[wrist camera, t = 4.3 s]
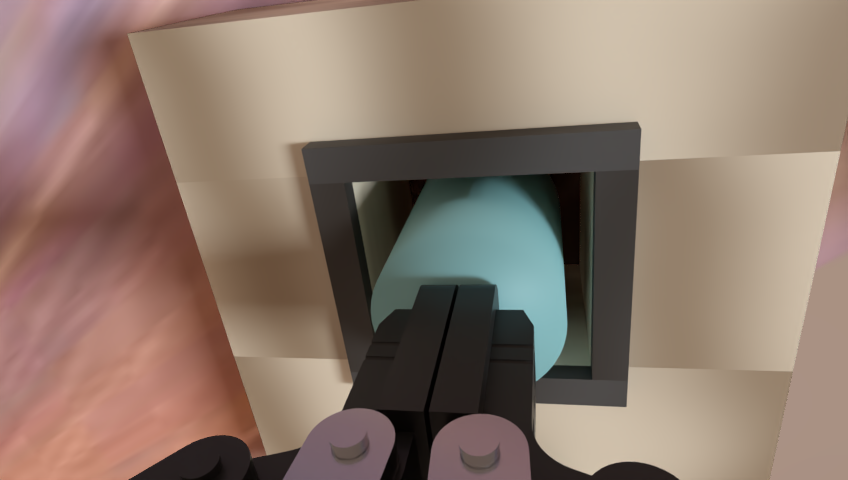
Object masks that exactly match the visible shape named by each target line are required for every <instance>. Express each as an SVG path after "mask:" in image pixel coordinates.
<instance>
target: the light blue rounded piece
mask: <svg viewBox="0 0 848 480" xmlns="http://www.w3.org/2000/svg"><path fill="white" fill-rule="evenodd" d="M477 284H496V285H497V288H498V298H499V310H524V312H525V313H526V315H527V316H528V318H529V319H530V321H531V322H532V324H533V325H534V342H535V370H536V381H537V380H539V379H540V378H541V377H542V376H543V375H545V374H546V373H547V372H548V371H549V370H550V368H551V367H552V366H553V365H554V364H555V362H556V360H557V359H558V357H559V356H560V354H561V351H562V349H563V347H564V343H565V339H566V335H567V309H566V292H565V276H564V259H563V243H562V226H561V210H560V199H559V195H558V191H557V189H556V186H555V184H554V182H553V180H552V179H551V177H550V175H549V174H531V175H509V176H486V177H464V178H441V179H427V181H426V183H425V185H424V187H423V189H422V191H421V193H420V195H419V197H418V199H417V201H416V203H415V205H414V207H413V209H412V211H411V213H410V215H409V217H408V219H407V221H406V223H405V225H404V227H403V229H402V231H401V233H400V235H399V237H398V239H397V241H396V243H395V245H394V247H393V249H392V251H391V253H390V255H389V257H388V259H387V261H386V263H385V265H384V267H383V270H382V272H381V274H380V276H379V278H378V280H377V282H376V285H375V287H374V290H373V294H372V299H371V318H372V324H373V328H374V331H375V332H376V330H377V328H378V325H379V324H380V323H381V322H382V321H383V320H384V319H385V318H386V317H387V316H388V315H390V314H391V313H392V312H393V311H394V310H395V309H412V307H413V305H414V302H415V299H416V296H417V294H418V291H419V288H420V286H421V285H458V287H459V286H460V285H477Z"/></svg>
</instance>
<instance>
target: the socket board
mask: <svg viewBox="0 0 848 480" xmlns="http://www.w3.org/2000/svg"><path fill="white" fill-rule="evenodd" d="M127 35H128V38H129V41H130V44H131V47H132V50H133V53H134V56H135V59H136V62H137V65H138V68H139V71H140V74H141V77H142V80H143V83H144V86H145V89H146V92H147V95H148V98H149V101H150V104H151V107H152V110H153V113H154V116H155V119H156V122H157V125H158V128H159V131H160V134H161V137H162V140H163V144H164V147H165V150H166V153H167V156H168V159H169V162H170V165H171V168H172V171H173V174H174V177H175V180H176V183H177V186H178V189H179V192H180V195H181V198H182V201H183V204H184V207H185V210H186V213H187V216H188V219H189V222H190V225H191V228H192V231H193V234H194V237H195V240H196V243H197V246H198V249H199V252H200V255H201V258H202V261H203V264H204V267H205V270H206V273H207V276H208V279H209V282H210V285H211V288H212V291H213V294H214V297H215V300H216V303H217V306H218V310H219V313H220V316H221V319H222V322H223V325H224V328H225V331H226V334H227V337H228V340H229V343H230V346H231V349H232V352H233V355H234V358H235V361H236V364H237V367H238V370H239V373H240V376H241V379H242V382H243V385H244V388H245V391H246V394H247V397H248V400H249V403H250V406H251V409H252V412H253V415H254V418H255V421H256V424H257V427H258V430H259V433H260V436H261V439H262V442H263V445H264V448H265V451H266V454H267V455H271V454H276V453H281V452H286V451H290V450H294V449H297V448H300V447H302V445H303V443H304V442H305V440H306V438H307V436H308V435H309V433H310V432H311V431H312V429H313V428H314V427H315V426H316V425H317V424H318V423H320V422H321V421H322V420H324V419H325V418H327V417H328V416H331V415H333V414H335V413H337V412H340V411H342V409H343V407H344V404H345V402H346V400H347V397H348V395H349V393H350V390H351V388H352V386H353V384H354V381H355V379H356V377H357V374H358V372H359V370H360V367H361V365H362V363H363V360H365V356H366V353H367V351H368V349H369V346H370V345H372V339H373V337H374V335H375V331H374V328H373V324H372V318H371V299H372V294H373V290H374V287H375V285H376V282H377V280H378V278H379V276H380V274H381V272H382V270H383V267H384V265H385V263H386V261H387V259H388V257H389V255H390V253H391V251H392V249H393V247H394V245H395V243H396V241H397V239H398V237H399V235H400V233H401V231H402V229H403V227H404V225H405V223H406V221H407V219H408V217H409V215H410V213H411V211H412V209H413V204H412V197H411V189H410V182H409V180H419V179H441V178H464V177H486V176H509V175H531V174H553V173H576V172H580V264H577V265H564V276H565V292H566V309H567V335H566V339H565V343H564V347H563V349H562V351H561V354H560V356H559V357H558V359H557V360H556V362H555V364H554V365H553V366H552V367H551V368H550V370H549V371H548V372H547V373H546V374H545V375H543V376H542V377H541V378H540V379H539V380H537V381H536V425H535V429H536V430H535V439H536V441H537V443H538V444H539V446H540V447H541V448H542V450H543V451H545V452H546V453H547V454H548V455H549V456H550V457H551V458H553V459H554V460H555V461H557V462H559V463H561V464H563V465H564V466H567V467H569V468H572V469H574V470H577V471H580V472H583V473H586V474H589V475H593V474H594V473H595V472H597V471H598V470H599V469H601V468H603V467H605V466H607V465H610V464H614V463H618V462H640V463H646V464H650V465H653V466H656V467H659V468H661V469H663V470H665V471H667V472H669V473H671V474H673V475H674V476H675V477H677V478H678V479H679V480H769V479H770V475H771V470H772V466H773V461H774V456H775V452H776V447H777V443H778V437H779V433H780V429H781V424H782V419H783V415H784V410H785V406H786V401H787V396H788V392H789V387H790V382H791V378H792V373H793V368H794V363H795V359H796V354H797V350H798V345H799V341H800V336H801V331H802V327H803V322H804V317H805V313H806V308H807V304H808V299H809V294H810V290H811V285H812V281H813V275H814V271H815V267H816V262H817V257H818V253H819V248H820V244H821V239H822V234H823V230H824V225H825V220H826V216H827V211H828V207H829V202H830V197H831V193H832V188H833V183H834V179H835V174H836V170H837V165H838V160H839V156H840V151H841V146H842V142H843V137H844V133H845V128H846V123H847V119H848V0H314V1H305V2H297V3H289V4H280V5H272V6H264V7H255V8H247V9H239V10H234V11H229V12H224V13H220V14H215V15H211V16H206V17H202V18H197V19H192V20H188V21H183V22H179V23H174V24H170V25H165V26H160V27H156V28H151V29H147V30H142V31H138V32H133V33H128V34H127Z"/></svg>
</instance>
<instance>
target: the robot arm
mask: <svg viewBox="0 0 848 480" xmlns="http://www.w3.org/2000/svg"><path fill="white" fill-rule="evenodd" d="M535 425H536V370H535V342H534V325H533V324H532V322H531V321H530V319H529V318H528V316H527V315H526V313H525V312H524V310H499V298H498V288H497V285H496V284H477V285H460V286H459V287H458V285H421V286H420V288H419V291H418V294H417V296H416V299H415V302H414V305H413V307H412V309H395V310H394V311H393V312H392V313H391V314H390V315H388V316H387V317H386V318H385V319H384V320H383V321H382V322H381V323H380V324H379V325H378V328H377V330H376V332H375V335H374V337H373V339H372V345H370V346H369V349H368V351H367V353H366V356H365V360H363V363H362V365H361V367H360V370H359V372H358V374H357V377H356V379H355V381H354V384H353V386H352V388H351V390H350V393H349V395H348V397H347V400H346V402H345V404H344V407H343V409H342V411H340V412H337V413H335V414H333V415H331V416H328V417H327V418H325V419H324V420H322V421H321V422H320V423H318V424H317V425H316V426H315V427H314V428H313V429H312V431H311V432H310V433H309V435H308V436H307V438H306V440H305V442H304V443H303V445H302V447H300V448H297V449H294V450H290V451H286V452H281V453H276V454H271V455H267V456H262V457H257V458H252V457H251V454H250V451H249V448H248V447H247V445H246V444H245V443H244V442H243V441H242V440H240V439H238V438H236V437H232V436H226V435H220V436H211V437H207V438H204V439H200V440H198V441H195V442H193V443H191V444H189V445H187V446H185V447H184V448H182V449H180V450H178V451H177V452H175V453H173V454H172V455H170V456H168V457H167V458H165V459H163V460H161V461H160V462H158V463H156V464H155V465H153V466H151V467H149V468H148V469H146V470H144V471H143V472H141V473H139V474H138V475H136V476H134V477H132V478H131V479H129V480H679V479H678V478H677V477H675V476H674V475H673V474H671V473H669V472H667V471H665V470H663V469H661V468H659V467H656V466H653V465H650V464H646V463H640V462H618V463H614V464H610V465H607V466H605V467H603V468H601V469H599V470H598V471H597V472H595V473H594V474H593V475H589V474H586V473H583V472H580V471H577V470H574V469H572V468H569V467H567V466H564V465H563V464H561V463H559V462H557V461H555V460H554V459H553V458H551V457H550V456H549V455H548V454H547V453H546V452H545V451H543V450H542V448H541V447H540V446H539V444H538V443H537V441H536V439H535V430H536V429H535Z"/></svg>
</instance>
